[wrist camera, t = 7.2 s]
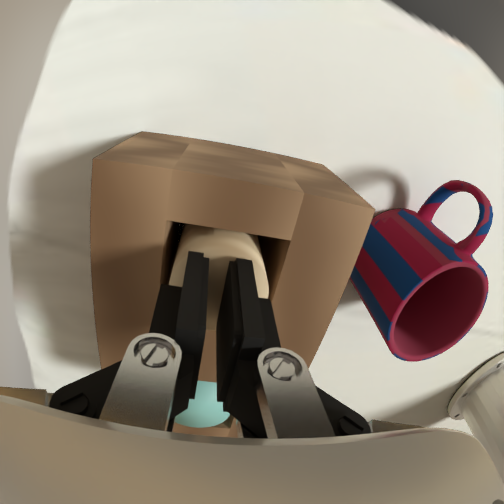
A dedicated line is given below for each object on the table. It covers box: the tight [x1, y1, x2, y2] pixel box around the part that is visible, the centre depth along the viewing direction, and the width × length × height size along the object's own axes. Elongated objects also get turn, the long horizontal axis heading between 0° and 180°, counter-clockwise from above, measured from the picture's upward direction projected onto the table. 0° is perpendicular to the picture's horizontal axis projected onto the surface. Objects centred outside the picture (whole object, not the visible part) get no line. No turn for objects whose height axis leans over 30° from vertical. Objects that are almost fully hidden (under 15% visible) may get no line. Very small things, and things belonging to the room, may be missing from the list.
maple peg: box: [169, 223, 269, 331], centre depth 14 cm, size 4×4×6 cm
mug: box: [350, 180, 493, 361], centre depth 17 cm, size 7×10×7 cm
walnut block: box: [90, 131, 375, 438], centre depth 17 cm, size 10×16×7 cm, turn 168°
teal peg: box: [175, 381, 230, 428], centre depth 18 cm, size 4×4×6 cm
